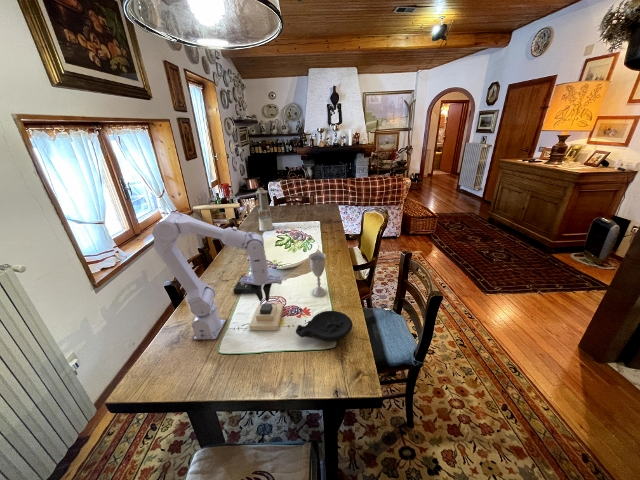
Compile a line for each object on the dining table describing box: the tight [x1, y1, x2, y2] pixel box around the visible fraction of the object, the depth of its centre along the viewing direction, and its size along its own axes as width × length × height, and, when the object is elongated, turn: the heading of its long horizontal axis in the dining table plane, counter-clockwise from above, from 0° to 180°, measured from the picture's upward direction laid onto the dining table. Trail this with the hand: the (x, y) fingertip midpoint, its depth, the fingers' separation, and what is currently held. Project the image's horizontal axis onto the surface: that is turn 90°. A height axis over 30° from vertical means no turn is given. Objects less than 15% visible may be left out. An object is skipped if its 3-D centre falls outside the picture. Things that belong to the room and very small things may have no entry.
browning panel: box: [233, 274, 256, 295], centre depth 117 cm, size 12×10×3 cm
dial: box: [242, 272, 252, 277], centre depth 116 cm, size 5×1×4 cm, turn 57°
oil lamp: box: [295, 310, 353, 343], centre depth 87 cm, size 15×20×5 cm
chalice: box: [308, 251, 327, 297], centre depth 106 cm, size 7×7×18 cm
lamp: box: [255, 187, 274, 232], centre depth 178 cm, size 10×13×30 cm
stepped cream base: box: [249, 303, 284, 331], centre depth 96 cm, size 12×10×4 cm
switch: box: [260, 303, 272, 314], centre depth 95 cm, size 4×4×2 cm
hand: (264, 299), depth 93 cm, fingers closed
